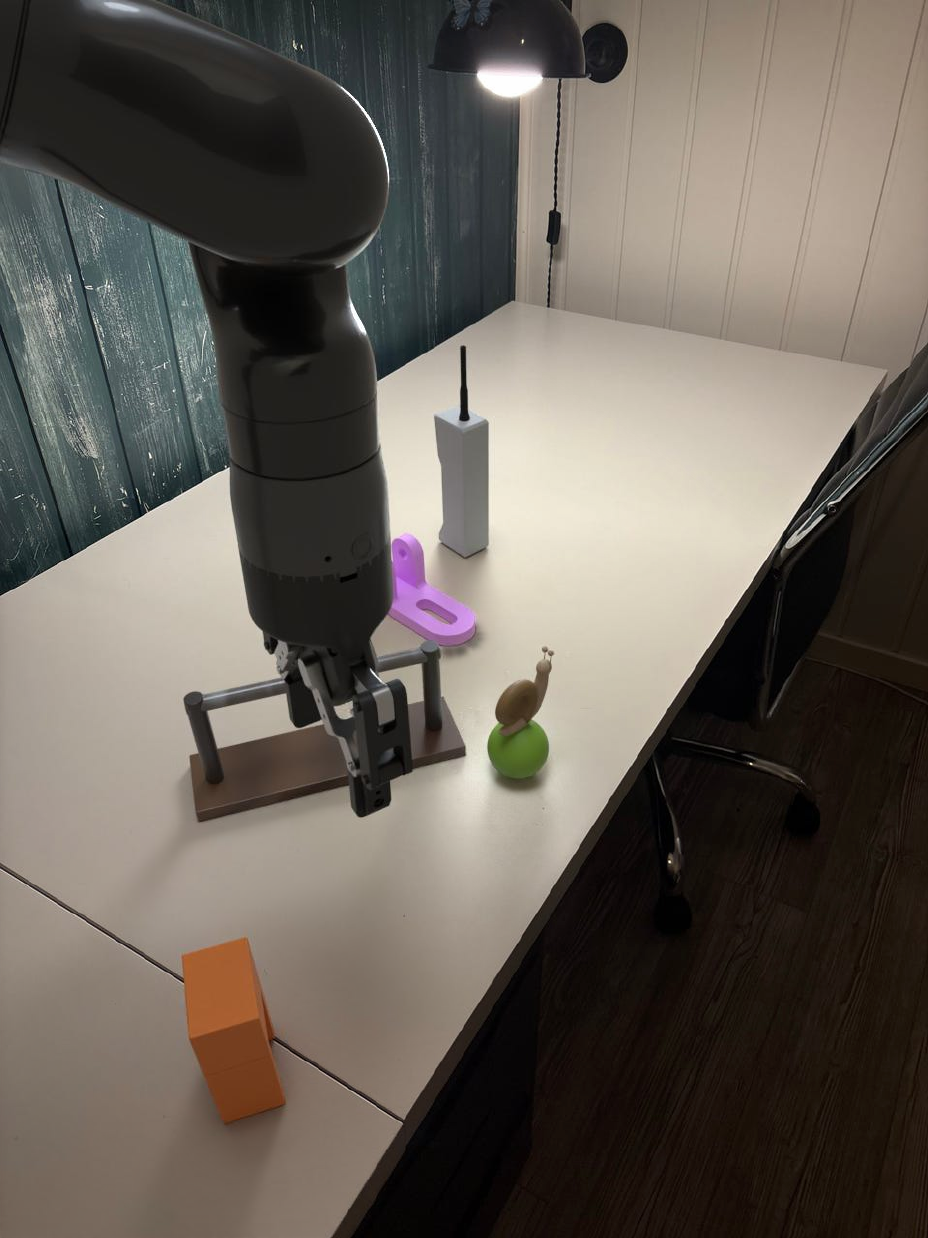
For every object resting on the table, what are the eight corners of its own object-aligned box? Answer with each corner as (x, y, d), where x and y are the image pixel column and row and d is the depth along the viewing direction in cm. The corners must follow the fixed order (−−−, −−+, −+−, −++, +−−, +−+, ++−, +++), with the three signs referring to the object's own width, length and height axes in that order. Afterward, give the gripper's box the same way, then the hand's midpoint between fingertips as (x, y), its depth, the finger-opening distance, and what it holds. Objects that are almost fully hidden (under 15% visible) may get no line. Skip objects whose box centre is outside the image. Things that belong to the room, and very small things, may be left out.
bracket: (366, 601, 102) (361, 549, 98) (403, 579, 105) (399, 528, 101) (449, 653, 95) (447, 599, 90) (486, 628, 98) (485, 575, 94)
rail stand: (198, 822, 78) (170, 732, 71) (191, 764, 83) (165, 675, 77) (466, 755, 84) (464, 666, 77) (444, 704, 89) (440, 617, 82)
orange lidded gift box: (223, 1124, 59) (188, 1039, 52) (214, 1043, 63) (181, 954, 56) (285, 1104, 60) (259, 1018, 53) (273, 1025, 64) (246, 936, 57)
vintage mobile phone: (462, 530, 113) (457, 332, 97) (488, 547, 110) (488, 345, 94) (438, 541, 111) (430, 341, 96) (465, 559, 108) (461, 355, 92)
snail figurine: (567, 762, 83) (575, 662, 75) (519, 801, 79) (521, 700, 72) (523, 731, 86) (526, 632, 78) (474, 768, 82) (473, 668, 75)
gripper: (192, 489, 49) (235, 716, 58) (303, 627, 39) (333, 872, 48) (321, 456, 52) (342, 676, 61) (454, 575, 42) (454, 814, 52)
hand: (338, 762), depth 55 cm, fingers open, 8 cm apart
